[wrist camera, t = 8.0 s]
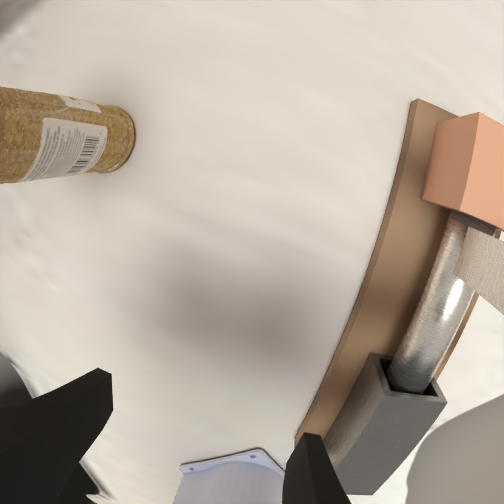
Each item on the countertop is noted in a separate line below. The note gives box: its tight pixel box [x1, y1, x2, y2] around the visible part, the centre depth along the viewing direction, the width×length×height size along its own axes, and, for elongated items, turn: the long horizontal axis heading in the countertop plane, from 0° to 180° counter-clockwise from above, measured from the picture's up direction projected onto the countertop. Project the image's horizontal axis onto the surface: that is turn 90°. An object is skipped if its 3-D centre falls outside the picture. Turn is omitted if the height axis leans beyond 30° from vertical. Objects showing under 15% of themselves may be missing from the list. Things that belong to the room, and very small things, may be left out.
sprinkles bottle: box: [0, 87, 134, 184], centre depth 12 cm, size 5×5×13 cm
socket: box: [420, 112, 504, 232], centre depth 12 cm, size 4×5×5 cm
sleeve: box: [323, 352, 447, 495], centre depth 17 cm, size 10×4×4 cm, turn 167°
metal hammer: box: [385, 209, 504, 395], centre depth 12 cm, size 14×3×8 cm, turn 167°
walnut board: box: [294, 99, 501, 448], centre depth 18 cm, size 26×8×1 cm, turn 167°
